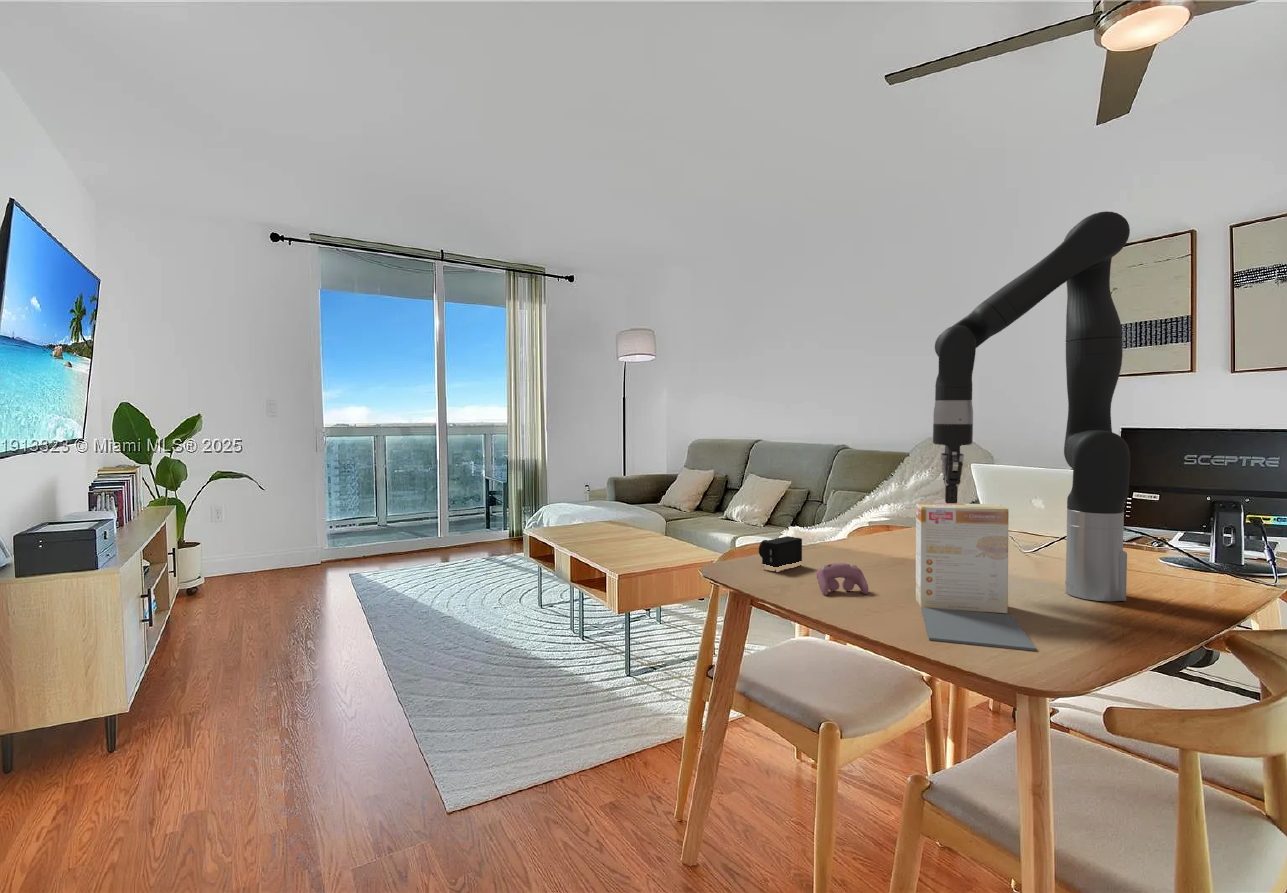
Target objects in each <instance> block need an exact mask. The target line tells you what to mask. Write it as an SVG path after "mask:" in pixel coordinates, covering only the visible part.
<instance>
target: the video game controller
mask: <svg viewBox="0 0 1287 893" xmlns="http://www.w3.org/2000/svg"><path fill="white" fill-rule="evenodd" d="M839 578H840V579H841V578H843V579H844V580H843V582H842V583H841V587H842V588H843V590H844V591H845V590H851V591H852V590H853V589H855V586H857V587H859V589H860V591H861V592H862V594H863V595H865V594H866V595H868V593H869V584H868V582H867V580H866V578H865V575H864V573H863V571H862V570H861V568H859V567H858V566H857V565H856V564H849V563H845V562H836V563H835V562H834V563H830V564H827V565H823V566H821V567H820V568H819V569H817V572H816V579H817V581H818V582H817V583H818V586H819V590H820V591H821V593H822V594H823V595H824V594H825V595H824V596H828V595H829V591H830V590H834V591H833V592H836V591H837V590H839V589H840V583H839V581H838V580H837V579H839ZM835 590H836V591H835Z"/></svg>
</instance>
